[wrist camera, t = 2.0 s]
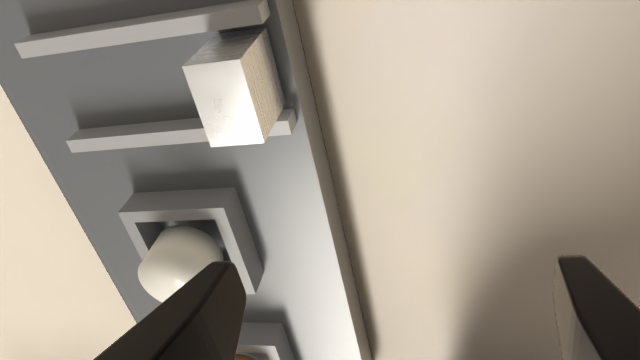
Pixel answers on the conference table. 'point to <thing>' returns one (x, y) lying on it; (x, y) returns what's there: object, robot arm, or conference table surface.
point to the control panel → (187, 159)
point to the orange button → (243, 357)
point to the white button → (176, 260)
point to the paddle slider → (236, 87)
